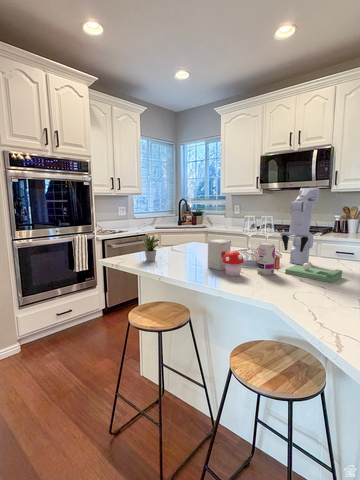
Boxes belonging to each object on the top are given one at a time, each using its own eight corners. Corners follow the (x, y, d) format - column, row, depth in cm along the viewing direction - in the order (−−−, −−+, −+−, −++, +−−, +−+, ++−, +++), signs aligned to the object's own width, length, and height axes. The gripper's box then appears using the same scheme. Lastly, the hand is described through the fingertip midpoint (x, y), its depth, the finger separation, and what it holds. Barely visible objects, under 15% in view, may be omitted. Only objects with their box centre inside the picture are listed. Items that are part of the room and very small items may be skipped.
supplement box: (219, 270, 143) (220, 242, 141) (207, 267, 150) (207, 240, 148) (230, 267, 149) (231, 240, 147) (218, 264, 156) (218, 238, 154)
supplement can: (274, 271, 141) (276, 243, 138) (272, 276, 133) (274, 245, 131) (258, 270, 144) (259, 242, 142) (255, 274, 137) (256, 244, 134)
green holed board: (285, 273, 138) (285, 266, 138) (296, 268, 146) (296, 262, 146) (332, 282, 122) (332, 275, 122) (341, 277, 130) (342, 270, 130)
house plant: (161, 263, 160) (161, 235, 157) (138, 263, 160) (137, 236, 158) (163, 257, 174) (163, 232, 171) (141, 258, 174) (141, 232, 172)
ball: (301, 270, 136) (301, 262, 136) (304, 268, 139) (305, 261, 138) (308, 271, 134) (309, 264, 133) (311, 270, 136) (312, 263, 135)
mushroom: (239, 278, 130) (239, 254, 128) (218, 275, 135) (218, 251, 133) (246, 273, 139) (247, 250, 137) (226, 270, 144) (226, 248, 142)
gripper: (279, 223, 141) (276, 249, 141) (309, 224, 132) (306, 252, 132) (283, 224, 146) (281, 249, 147) (312, 225, 137) (310, 252, 138)
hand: (293, 251), depth 140 cm, fingers open, 7 cm apart
